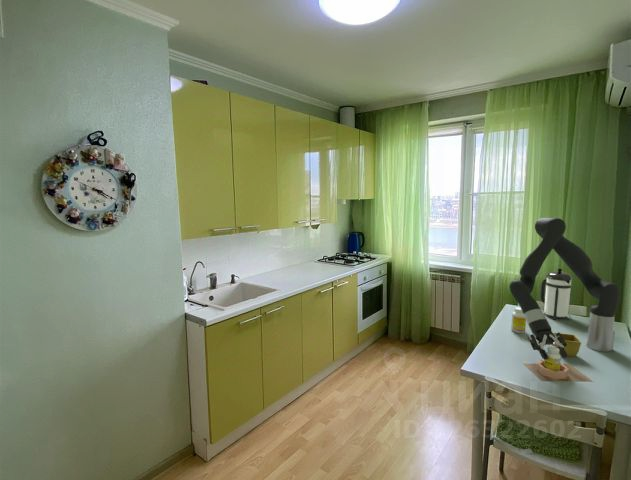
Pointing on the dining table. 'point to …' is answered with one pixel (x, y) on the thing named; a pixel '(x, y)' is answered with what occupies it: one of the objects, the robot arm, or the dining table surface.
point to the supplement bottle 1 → (518, 321)
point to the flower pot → (571, 344)
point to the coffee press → (556, 293)
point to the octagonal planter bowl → (550, 373)
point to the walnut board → (572, 376)
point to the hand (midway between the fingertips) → (556, 358)
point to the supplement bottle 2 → (553, 359)
